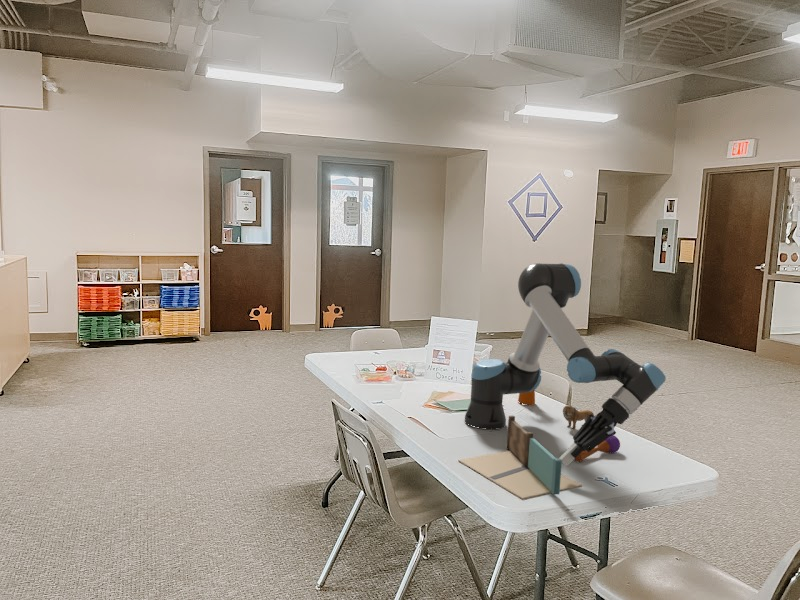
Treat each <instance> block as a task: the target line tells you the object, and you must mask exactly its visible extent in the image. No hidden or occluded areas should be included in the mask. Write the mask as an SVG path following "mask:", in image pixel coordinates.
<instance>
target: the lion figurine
mask: <svg viewBox="0 0 800 600" xmlns="http://www.w3.org/2000/svg"><path fill="white" fill-rule="evenodd" d="M562 413H563V415H562V416H563V417H564V419H565V420H566V421H567V422H568V425H567V426H566V427H567V428H571V426H572V428H571V430H574V431H575V430H576V425H577V421H578V422H581V421H584V423H585V422H586V420H587V419H588V417H589V415H590V414H592V415H593V416H595V415H594V412H593V411H592V410H589V409H584V410H578V409H576V407H573V406H572V405H571V404H567V405H565V406H564V407H563V409H562ZM582 426H583V424H581V427H582Z"/></svg>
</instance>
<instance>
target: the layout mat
mask: <svg viewBox="0 0 800 600" xmlns="http://www.w3.org/2000/svg"><path fill="white" fill-rule="evenodd" d="M457 461H458V462H459V461H460V462H459V463H460V464H462V463H463V464H462V465H464V464H465V465H464V466H465V467H467V466H468V467H467V468H469V467H470V468H469V469H471V470H472V469H473V471H474V470H475V471H474V472H476V473H477V472H478V473H477V474H479V473H480V474H479V475H480V476H482V475H483V476H482V477H484V476H485V477H484V478H486V479H487V478H488V479H487V480H489V481H491V482H492V481H493V482H492V483H494V484H496V485H497V486H499V487H501V488H502V489H504V490H506V491H508V492H509V493H511V494H513V495H514V496H515V497H518V498H519V499H520V500H525V499H529V498H530V499H531V498H534V497H538V496H542V495H547V494H552V493H551V491H550V490H549V488H548V487H547V486H546V485H545V484H544V483H543V482H542V481H541V480H540V479H539V478H538V477H537V476H536V475H535V474H534V473H533V472H532V471H531V470H530V469H529V468H527V467H525V465H524V464H523V463H522V462H521V461H520V460H519V459H518V458H517V457H516V455H515V454H514V453H513V452H512V451H511V450H507V451H502V452H495V453H490V454H483V455H479V456H473V457H466V458H460V459H458V460H457ZM582 486H583V484H582V483H579V482H577V481H576V480H574V479H571V478H569V477H567V476H566V475H564V474H562V473H561V479H560V492H561V491H566V490H570V489H574V488H578V487H582Z"/></svg>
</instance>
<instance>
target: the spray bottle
mask: <svg viewBox="0 0 800 600" xmlns="http://www.w3.org/2000/svg"><path fill="white" fill-rule="evenodd" d="M519 342H520V341H518V345H519ZM535 390H536V389H535ZM535 390H533V391H531V392H527V393H518V394H519V395H518V400H517V402H518V401H519V402H520V403H523V404H527V405H526V406H534V405H536V404H535V403H536V393H535Z"/></svg>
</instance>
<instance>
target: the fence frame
mask: <svg viewBox="0 0 800 600" xmlns="http://www.w3.org/2000/svg"><path fill="white" fill-rule="evenodd" d="M507 422H508V423H507V437H506V438H507V439H506V450H507V451H512V452H513V453H514V454H515V455H516V457H517V458H518V459H519V460H520V461H521V462H522V463H523V464H524V465H525V467H527V468H528V459H529V445H530V438H534V436H535V435H534V433H533V432H531V431H527V430H526V429H524V428H523V426H521V425H520V423H518V422H517V421H516V416H514V415H508V421H507Z"/></svg>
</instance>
